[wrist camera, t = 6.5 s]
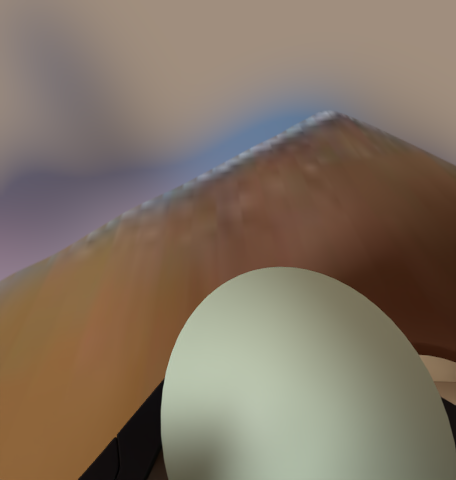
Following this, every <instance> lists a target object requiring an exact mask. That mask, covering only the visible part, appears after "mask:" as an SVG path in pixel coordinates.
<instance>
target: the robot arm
mask: <svg viewBox="0 0 456 480" xmlns="http://www.w3.org/2000/svg"><path fill="white" fill-rule="evenodd" d="M164 381H165V378H164V379H163V381H162V382H161V383H160V384H159V385H158V386H157V388H156V389H155V390H154V391H153V392H152V394H151V395H150V396H149V397H148V398H147V399H146V401H145V402H144V403H143V404H142V405H141V407H140V408H139V409H138V410H137V411H136V413H135V414H134V415H133V416H132V417H131V418H130V420H129V421H128V422H127V423H126V424H125V426H124V427H123V428H122V429H121V430H120V432H119V433H118V434H117V438H116V437H115V438H114V439H113V440H112V441H111V442H110V443H109V444H108V446H107V447H106V448H105V449H104V450H103V452H102V453H101V454H100V455H99V456H98V457H97V458H96V460H95V461H94V462H93V463H92V464H91V465H90V466H89V468H88V469H87V470H86V471H85V472H84V473H83V474H82V476H81V477H80V478H79V479H78V480H168V476H167V471H166V467H165V462H164V455H163V446H162V438H161V404H162V393H163V386H164ZM440 397H441V396H440ZM441 400H442V402H443V405H444V408H445V411H446V413H447V416H448V419H449V423H450V427H451V431H452V435H453V438H454V442H455V448H456V405H454V404H453V403H451V402H449V401H447V400H446V399H444V398H442V397H441Z"/></svg>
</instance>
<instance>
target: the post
mask: <svg viewBox="0 0 456 480" xmlns="http://www.w3.org/2000/svg"><path fill="white" fill-rule="evenodd" d="M161 438H162V446H163V455H164V462H165V467H166V471H167V476H168V480H456V448H455V442H454V438H453V435H452V431H451V427H450V423H449V419H448V416H447V413H446V411H445V408H444V405H443V402H442V400H441V397H440V394H439V392H438V390H437V388H436V386H435V384H434V382H433V379H432V377H431V375H430V373H429V371H428V370H427V368H426V366H425V365H424V363H423V361H422V360H421V358H420V356H419V355H418V353H417V351H416V350H415V349H414V347H413V346H412V345H411V343H410V342H409V340H408V339H407V338H406V336H405V335H404V334H403V333H402V331H401V330H400V329H399V328H398V327H397V326H396V325H395V323H394V322H393V321H392V320H391V319H390V318H389V317H388V316H387V315H386V314H385V313H384V312H383V311H382V310H381V309H379V308H378V307H377V306H376V305H375V304H374V303H372V302H371V301H370V300H369V299H367V298H366V297H365V296H363V295H362V294H360V293H359V292H357V291H356V290H354V289H353V288H351V287H350V286H348V285H346V284H344V283H342V282H340V281H338V280H336V279H334V278H331V277H329V276H326V275H324V274H321V273H317V272H314V271H310V270H306V269H300V268H294V267H271V268H263V269H258V270H254V271H250V272H247V273H244V274H241V275H239V276H237V277H235V278H233V279H231V280H229V281H227V282H226V283H224V284H223V285H221V286H220V287H218V288H217V289H216V290H214V291H213V292H212V293H211V294H210V295H208V296H207V297H206V298H205V299H204V300H203V302H202V303H201V304H200V305H199V306H198V307H197V308H196V309H195V311H194V312H193V313H192V315H191V316H190V318H189V319H188V320H187V322H186V324H185V326H184V327H183V329H182V331H181V333H180V334H179V337H178V339H177V341H176V344H175V346H174V348H173V351H172V354H171V357H170V360H169V363H168V367H167V371H166V376H165V381H164V386H163V393H162V404H161Z"/></svg>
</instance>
